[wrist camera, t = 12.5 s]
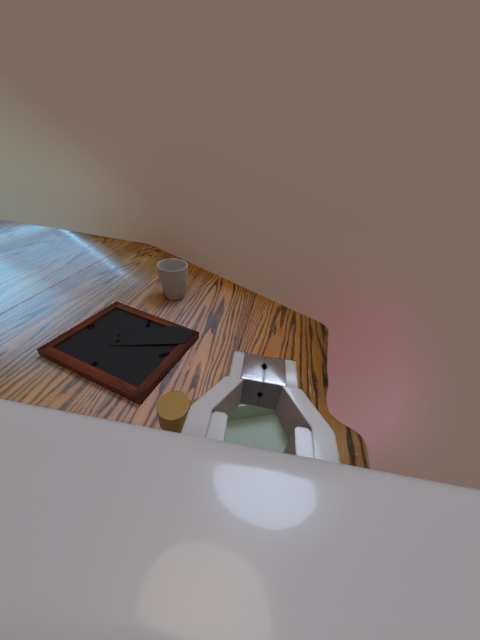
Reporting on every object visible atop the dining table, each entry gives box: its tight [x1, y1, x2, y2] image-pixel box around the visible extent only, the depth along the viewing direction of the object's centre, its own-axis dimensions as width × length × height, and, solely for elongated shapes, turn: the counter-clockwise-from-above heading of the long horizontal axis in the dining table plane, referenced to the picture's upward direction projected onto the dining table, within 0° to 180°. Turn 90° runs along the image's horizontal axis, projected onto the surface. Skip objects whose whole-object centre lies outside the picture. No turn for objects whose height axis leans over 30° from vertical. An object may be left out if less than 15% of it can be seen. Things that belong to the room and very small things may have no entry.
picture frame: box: [37, 302, 199, 405], centre depth 50 cm, size 20×2×25 cm
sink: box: [225, 404, 289, 453], centre depth 34 cm, size 14×14×5 cm
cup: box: [157, 259, 188, 300], centre depth 65 cm, size 8×8×10 cm
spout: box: [156, 391, 198, 433], centre depth 26 cm, size 14×3×4 cm, turn 110°
